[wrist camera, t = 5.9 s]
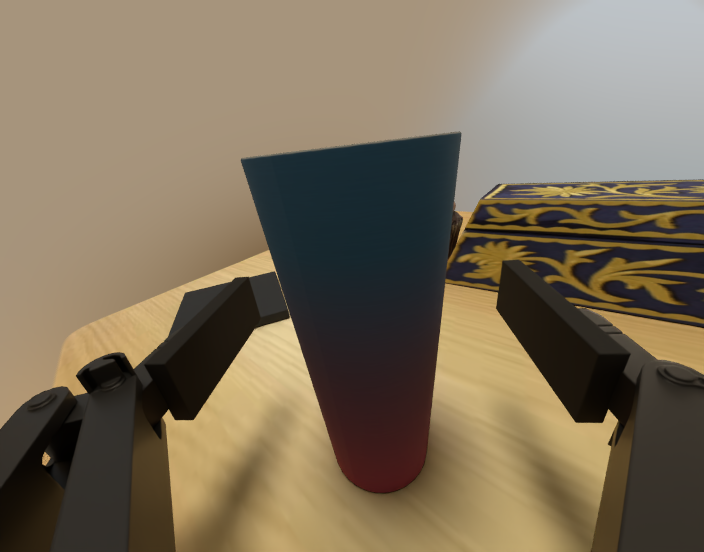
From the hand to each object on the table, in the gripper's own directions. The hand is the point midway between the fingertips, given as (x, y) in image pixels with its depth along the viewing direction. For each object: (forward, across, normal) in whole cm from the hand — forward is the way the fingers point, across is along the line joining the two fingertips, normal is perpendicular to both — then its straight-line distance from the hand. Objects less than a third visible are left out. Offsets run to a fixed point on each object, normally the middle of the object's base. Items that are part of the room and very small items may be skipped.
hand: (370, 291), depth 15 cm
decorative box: (+13, +22, -8) cm, 27 cm away
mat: (+12, -16, -8) cm, 22 cm away
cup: (-3, 0, -8) cm, 9 cm away
